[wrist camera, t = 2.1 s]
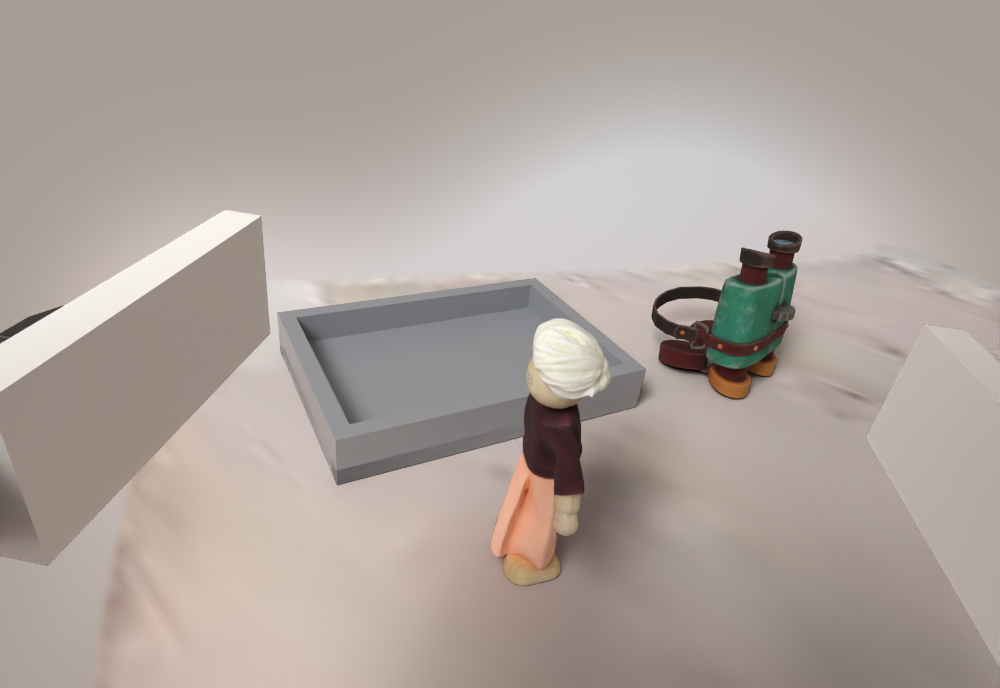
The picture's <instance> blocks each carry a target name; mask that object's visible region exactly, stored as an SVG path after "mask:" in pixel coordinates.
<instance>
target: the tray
mask: <svg viewBox="0 0 1000 688" xmlns="http://www.w3.org/2000/svg"><path fill="white" fill-rule="evenodd" d="M277 314H278V326H279V338H280V349H281V353H282V356H283V358H284V360H285V363H286V365H287V367H288V370H289V372H290V375H291V377H292V379H293V382H294V384H295V386H296V389H297V391H298V393H299V396H300V398H301V401H302V403H303V405H304V408H305V410H306V412H307V415H308V417H309V420H310V422H311V424H312V427H313V429H314V431H315V434H316V436H317V438H318V441H319V443H320V446H321V448H322V450H323V453H324V455H325V457H326V460H327V462H328V465H329V467H330V469H331V472H332V474H333V476H334V479H335V481H336V483H337V485H339V484H343V483H347V482H350V481H354V480H358V479H362V478H366V477H369V476H373V475H377V474H381V473H385V472H389V471H392V470H396V469H400V468H404V467H408V466H412V465H415V464H419V463H423V462H427V461H431V460H434V459H438V458H442V457H446V456H450V455H454V454H457V453H461V452H465V451H469V450H473V449H477V448H480V447H484V446H488V445H492V444H496V443H499V442H503V441H507V440H511V439H515V438H519V437H522V436H524V431H525V430H524V411H525V406H526V402H527V398H528V396H529V393H530V391H529V389H528V386H527V381H526V372H527V367H528V364H529V362H530V360H531V359H532V357H533V340H534V335H535V332H536V330H537V327H538V326H539V325H540V324H542V323H544V322H547V321H549V320H551V319H559V318H561V319H566V320H569V321H572V322H574V323H576V324H577V325H579V326H580V327H582V328H583V329H584V330H586V331H587V332H589V333H591V334H592V335H593V336H594V338H595V339H596V340H597V342H598V344H599V346H600V347H601V349H602V351H603V354H604V356H605V358H606V359H607V361H608V363H609V366H610V373H611V382H610V383H609V385H608V386H607V387H606V389H605V390H603V391H599V392H597V393H596V394H595V395H594V396H593V397H590V396H586V397H583V398H582V399H581V400H580V401H579V402H578V403H577V405H578V409H579V413H580V421H584V420H587V419H591V418H595V417H599V416H603V415H607V414H610V413H614V412H618V411H622V410H626V409H629V408H633V407H636V405H637V401H638V397H639V393H640V390H641V386H642V382H643V378H644V374H645V371H646V369H645V368H644V367H643V366H641V365H640V364H639V363H638V362H637V361H635V360H634V359H633V358H632V357H631V356H629V355H628V354H627V353H626V352H624V351H623V350H622V349H621V348H620V347H618V346H617V345H616V344H615V343H614V342H612V341H611V340H610V339H609V338H607V337H606V336H605V335H604V334H603V333H601V332H600V331H599V330H598V329H597V328H595V327H594V326H593V325H592V324H590V323H589V322H588V321H587V320H586V319H584V318H583V317H582V316H581V315H580V314H578V313H577V312H576V311H575V310H573V309H572V308H571V307H570V306H569V305H567V304H566V303H565V302H564V301H563V300H561V299H560V298H559V297H558V296H556V295H555V294H554V293H553V292H552V291H550V290H549V289H548V288H547V287H546V286H544V285H543V284H542V283H541V282H539V281H538V280H537V279H536V278H533V279H525V280H518V281H510V282H503V283H496V284H488V285H481V286H473V287H466V288H458V289H451V290H443V291H436V292H428V293H421V294H413V295H406V296H398V297H391V298H383V299H376V300H368V301H361V302H353V303H346V304H338V305H331V306H324V307H316V308H309V309H301V310H294V311H286V312H279V313H277Z"/></svg>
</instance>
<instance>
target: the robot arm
mask: <svg viewBox="0 0 1000 688" xmlns="http://www.w3.org/2000/svg"><path fill="white" fill-rule="evenodd" d="M269 334H270V324H269V311H268V298H267V285H266V272H265V259H264V247H263V233H262V220H261V216H258V215H252V214H246V213H240V212H233V211H228V210H225V211H223V212H221V213H219V214H218V215H216V216H214V217H213V218H211V219H209V220H208V221H206V222H204V223H203V224H201V225H199V226H198V227H196V228H194V229H193V230H191V231H189V232H187V233H186V234H184V235H183V236H181V237H179V238H177V239H176V240H174V241H172V242H171V243H169V244H167V245H166V246H164V247H162V248H160V249H159V250H157V251H155V252H154V253H152V254H150V255H149V256H147V257H145V258H144V259H142V260H140V261H139V262H137V263H135V264H134V265H132V266H130V267H129V268H127V269H125V270H123V271H122V272H120V273H118V274H117V275H115V276H113V277H112V278H110V279H108V280H107V281H105V282H103V283H102V284H100V285H98V286H97V287H95V288H93V289H91V290H90V291H88V292H87V293H85V294H83V295H81V296H80V297H78V298H76V299H75V300H73V301H71V302H70V303H68V304H66V305H63V306H60V307H57V308H54V309H52V310H49V311H45V312H42V313H39V314H36V315H33V316H31V317H28V318H26V319H24V320H23V321H21V322H19V323H17V324H16V325H14V326H13V327H11V328H9V329H7V330H5V331H3V332H2V333H0V556H2V557H7V558H12V559H17V560H21V561H27V562H31V563H36V564H41V565H46V566H48V565H49V564H50V563H51V562H52V561H53V560H54V559H55V558H56V557H57V556H58V555H59V554H60V553H61V552H62V551H63V550H64V549H65V548H66V546H67V545H68V544H69V543H70V542H71V541H72V540H73V539H74V538H75V537H76V536H77V535H78V534H79V533H80V532H81V531H82V530H83V528H85V527H86V525H88V523H89V522H90V521H91V520H92V519H93V518H94V517H95V516H96V515H97V514H98V513H99V512H100V511H101V510H102V509H103V508H104V507H105V506H106V504H108V503H109V501H110V500H111V499H112V498H113V497H114V496H115V495H116V494H117V493H118V492H119V491H120V490H121V489H122V488H123V487H124V486H125V485H126V484H127V483H128V482H129V481H130V480H131V479H132V477H133V476H134V475H135V474H136V473H137V472H138V471H139V470H140V469H141V468H142V467H143V466H144V465H145V464H146V463H147V462H148V461H149V460H150V459H151V458H152V457H153V456H154V454H155V453H156V452H157V451H158V450H159V449H160V448H161V447H162V446H163V445H164V444H165V443H166V442H167V441H168V440H169V439H170V438H171V437H172V436H173V435H174V434H175V433H176V431H177V430H178V429H179V428H180V427H181V426H182V425H183V424H184V423H185V422H186V421H187V420H188V419H189V418H190V417H191V416H192V415H193V414H194V413H195V412H196V411H197V410H198V408H199V407H200V406H201V405H202V404H203V403H204V402H205V401H206V400H207V399H208V398H209V397H210V396H211V395H212V394H213V393H214V392H215V391H216V390H217V389H218V388H219V387H220V385H221V384H222V383H223V382H224V381H225V380H226V379H227V378H228V377H229V376H230V375H231V374H232V373H233V372H234V371H235V370H236V369H237V368H238V367H239V366H240V365H241V363H242V362H243V361H244V360H245V359H246V358H247V357H248V356H249V355H250V354H251V353H252V352H253V351H254V350H255V349H256V348H257V347H258V346H259V345H260V344H261V343H262V342H263V340H264V339H265V338H266V337H267V336H268V335H269ZM866 439H867V441H868V442H869V444H870V446H871V448H872V449H873V451H874V453H875V454H876V456H877V458H878V460H879V461H880V463H881V465H882V466H883V468H884V470H885V472H886V473H887V475H888V477H889V479H890V480H891V482H892V484H893V485H894V487H895V489H896V491H897V492H898V494H899V496H900V497H901V499H902V501H903V503H904V504H905V506H906V508H907V509H908V511H909V513H910V515H911V516H912V518H913V520H914V522H915V523H916V525H917V527H918V528H919V530H920V532H921V534H922V535H923V537H924V539H925V540H926V542H927V544H928V546H929V547H930V549H931V551H932V553H933V554H934V556H935V558H936V559H937V561H938V563H939V565H940V566H941V568H942V570H943V571H944V573H945V575H946V577H947V578H948V580H949V582H950V583H951V585H952V587H953V589H954V590H955V592H956V594H957V596H958V597H959V599H960V601H961V602H962V604H963V606H964V608H965V609H966V611H967V613H968V614H969V616H970V618H971V620H972V621H973V623H974V625H975V626H976V628H977V630H978V632H979V633H980V635H981V637H982V639H983V640H984V642H985V644H986V645H987V647H988V649H989V651H990V652H991V654H992V656H993V657H994V659H995V661H996V663H997V664H998V666H999V668H1000V363H999V362H998V361H997V360H996V359H995V358H994V357H993V356H992V355H991V354H990V353H989V352H988V351H987V350H986V349H985V348H983V347H982V346H981V345H980V344H979V343H978V342H977V341H976V340H975V339H974V338H973V337H972V336H971V335H970V334H969V333H968V332H967V331H963V330H957V329H951V328H945V327H939V326H933V325H926V324H924V326H923V328H922V330H921V332H920V334H919V336H918V338H917V340H916V342H915V344H914V346H913V348H912V349H911V351H910V353H909V355H908V357H907V359H906V361H905V363H904V365H903V367H902V369H901V371H900V373H899V375H898V377H897V379H896V380H895V382H894V384H893V386H892V388H891V390H890V392H889V394H888V396H887V398H886V400H885V402H884V404H883V406H882V408H881V410H880V412H879V413H878V415H877V417H876V419H875V421H874V423H873V425H872V427H871V429H870V431H869V433H868V435H867V437H866Z"/></svg>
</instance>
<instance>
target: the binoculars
mask: <svg viewBox="0 0 1000 688" xmlns="http://www.w3.org/2000/svg"><path fill="white" fill-rule="evenodd" d="M801 243H802V237H801V235H799V234H798V233H795V232H791V231H778V232H775V233H773V234H771V235H770V236H769V240H768V246H767V247H768V248H769V249H770V253H769V254H768V253H764V252H760V251H755V250H751V249H746V248H741V254H740V262H741V263H743V264H742V269H741V273H740V274H739V275H736V276H733V277H730V278H728V279H726V280H725V282H724V285H723V288H722V290H718V289H715V288H709V287H700V286H698V287H678V288H675V289H671V290H667V291H666V292H664V293H662V294H661V295H660V296H658V297H657V298H656V300H655V302H654V305H653V310H652V320H653V322H654V324H655V326H656V327H657V328H659V329H660V330H661V331H663V332H664V333H665V334H668V335H671V336H673V337H675V338H676V339H684V340H687V341H689V342H686V341H680V340H666V341H663V342H661V345H660V352H659V360H660V361H661V362H663V363H665V364H668V365H671V366H675V367H679V368H686V369H698V370H700V371H703V372H708V371H709V375H708V378H709V381H710V383H711V385H712V386H713V387H714V388H715V389H716V390H717V391H718V392H720V393H722V394H723V395H725V396H728V397H731V398H744V397H746V396H747V394H748V391H749V387H750V384H751V378H750V376H749V375H748V374H747V371H748V370H749V371H751V372H753V373H755V374H758V375H762V376H770V375H772V374H773V373H774V370H775V366H776V363H777V358H776V356H775V355H774V354H773V352H774V349H775V348H777V347H778V345H779V344H780V343H781V341H782V338H783V335H784V332H785V330H786V328H788V326H789V324H788V320H792V319H793V318H794V314H795V309H794V307H793V306H791V305H790V303H791V298H792V293H793V289H794V284H795V279H796V274H797V266H796V264H794V263H792V262H793V258H794V254H795V253H797V252H798V251H799V249H800V246H801ZM689 298H700V299H708V300H713V301H716V302H718V306H717V310H716V314H715V318H714V321H713V320H705V321H696V322H695V323H694V324H692V325H691V326H685V325H678V324H676V323H673V322H670V321H668V320H667V319H665V318H664V317H663V316H661V315H660V314H658V311H657V309H658V308H659V307H660V306H662V305H663V304H665V303H666V302H669V301H673V300H676V299H689ZM708 359H709V360H710V361H712V362H714V364H710V367H709V368H706V366H707V360H708Z"/></svg>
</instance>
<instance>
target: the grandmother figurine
mask: <svg viewBox="0 0 1000 688" xmlns="http://www.w3.org/2000/svg"><path fill="white" fill-rule="evenodd" d="M526 381H527V386H528V389H529V391H530V393H529V396H528V398H527V402H526V406H525V411H524V430H525V431H524V437H523V451H522V453H521V455H520V457H519V460H518V462H517V466H516V469H515V471H514V474H513V477H512V479H511V482H510V485H509V488H508V491H507V494H506V497H505V499H504V502H503V504H502V507H501V510H500V513H499V516H498V518H497V520H496V524H495V529H494V532H493V536H492V540H491V543H490V545H491V550H492V552H493V554H494V555H495V556H497V557H503V556H504V555H505V554H506V556H505V558H504V560H503V569H504V573H505V575H506V577H507V578H508V579H509V580H510V581H511V582H513V583H515V584H518V585H521V586H527V585H532V584H537V583H540V582H545V581H549V580H552V579H555V578H556V577H558V575H559V574H560V570H561V567H560V562H559V559H558V557H557V556H556V554H555V553H554V551H555V547H556V538H557V533H558V534H560V535H562V536H570V535H573V534H574V533H575V532H576V531H577V529H578V527H579V519H578V515H577V514H578V511H579V510H580V506H581V496H582V494H583V493H584V480H583V475H582V469H581V465H580V457H581V453H582V444H581V423H580V413H579V409H578V405H577V403H578V402H579V401H580V400H581V399H582V398H583V397H586V396H590V397H593V396H594V395H595V394H596V393H597V392H599V391H603V390H605V389H606V387H607V386H608V385H609V383H610V382H611V373H610V366H609V363H608V361H607V359H606V358H605V356H604V354H603V351H602V349H601V347H600V346H599V344H598V342H597V340H596V339H595V338H594V336H593V335H592V334H591V333H589V332H587V331H586V330H584V329H583V328H582V327H580V326H579V325H577V324H576V323H574V322H572V321H569V320H566V319H561V318H559V319H551V320H549V321H547V322H544V323H542V324H540V325H539V326H538V327H537V330H536V332H535V335H534V340H533V357H532V359H531V360H530V362H529V364H528V367H527V372H526Z"/></svg>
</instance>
